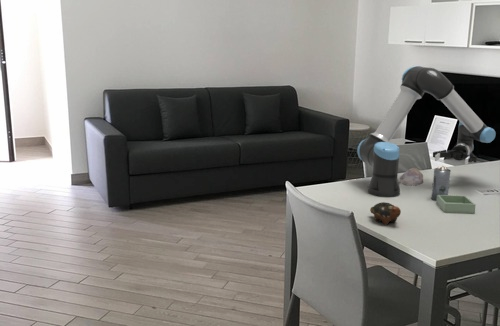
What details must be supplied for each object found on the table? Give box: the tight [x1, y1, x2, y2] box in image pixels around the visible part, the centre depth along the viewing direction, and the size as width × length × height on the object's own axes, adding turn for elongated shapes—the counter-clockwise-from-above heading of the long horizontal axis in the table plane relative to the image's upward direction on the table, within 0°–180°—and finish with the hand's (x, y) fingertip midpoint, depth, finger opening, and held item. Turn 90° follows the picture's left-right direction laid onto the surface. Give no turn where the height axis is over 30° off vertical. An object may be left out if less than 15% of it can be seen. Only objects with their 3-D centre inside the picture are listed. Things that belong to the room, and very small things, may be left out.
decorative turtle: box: [369, 201, 402, 226], centre depth 214 cm, size 10×15×8 cm, turn 36°
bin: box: [435, 194, 476, 215], centre depth 232 cm, size 13×13×4 cm
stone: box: [398, 167, 424, 187], centre depth 274 cm, size 17×10×10 cm
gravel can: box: [431, 165, 451, 202], centre depth 244 cm, size 7×7×16 cm
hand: (450, 160), depth 250 cm, fingers open, 13 cm apart
